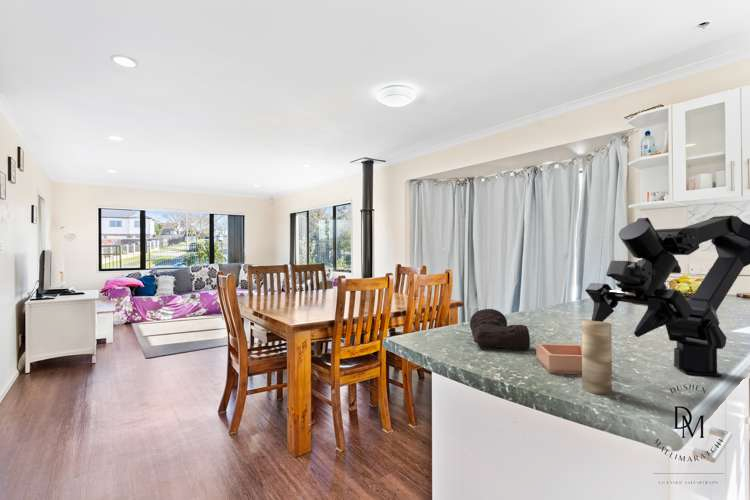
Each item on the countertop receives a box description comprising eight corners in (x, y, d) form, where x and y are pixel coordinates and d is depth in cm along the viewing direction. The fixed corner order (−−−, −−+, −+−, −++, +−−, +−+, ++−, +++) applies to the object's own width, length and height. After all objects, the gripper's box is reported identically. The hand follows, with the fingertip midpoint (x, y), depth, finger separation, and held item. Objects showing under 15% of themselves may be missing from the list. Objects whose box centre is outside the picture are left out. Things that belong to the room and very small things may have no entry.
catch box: (581, 361, 94) (581, 344, 94) (600, 375, 84) (600, 356, 84) (536, 359, 96) (536, 343, 96) (549, 373, 85) (549, 355, 85)
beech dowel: (607, 386, 77) (607, 321, 77) (615, 395, 72) (614, 326, 72) (579, 384, 78) (579, 320, 78) (585, 393, 73) (585, 324, 73)
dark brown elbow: (530, 325, 102) (519, 307, 116) (472, 327, 104) (468, 309, 119) (531, 359, 103) (521, 337, 118) (474, 360, 106) (470, 338, 121)
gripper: (591, 247, 87) (554, 298, 83) (681, 246, 70) (639, 310, 66) (616, 281, 90) (581, 331, 86) (709, 288, 73) (670, 352, 69)
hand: (613, 330), depth 77 cm, fingers open, 9 cm apart
